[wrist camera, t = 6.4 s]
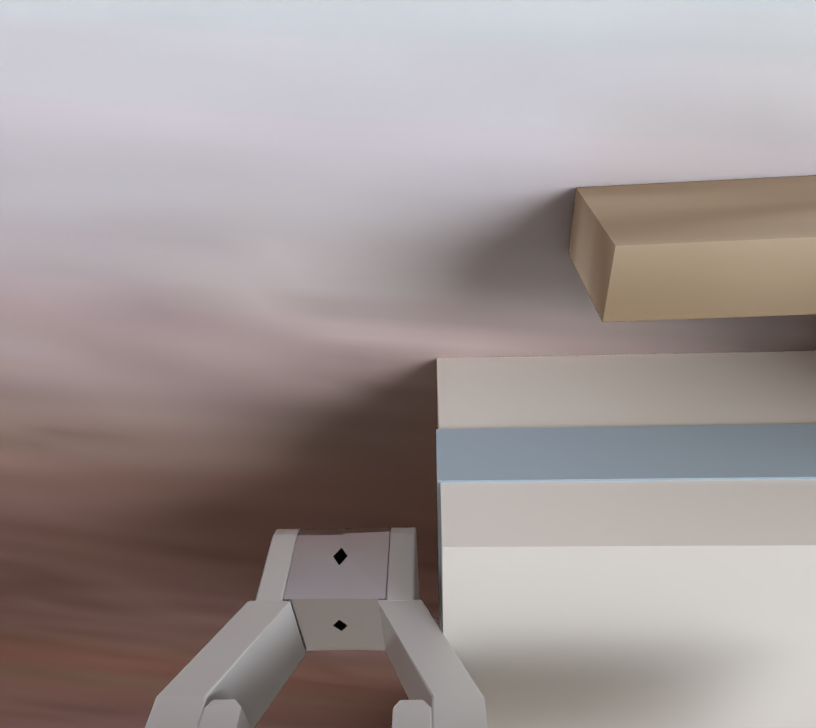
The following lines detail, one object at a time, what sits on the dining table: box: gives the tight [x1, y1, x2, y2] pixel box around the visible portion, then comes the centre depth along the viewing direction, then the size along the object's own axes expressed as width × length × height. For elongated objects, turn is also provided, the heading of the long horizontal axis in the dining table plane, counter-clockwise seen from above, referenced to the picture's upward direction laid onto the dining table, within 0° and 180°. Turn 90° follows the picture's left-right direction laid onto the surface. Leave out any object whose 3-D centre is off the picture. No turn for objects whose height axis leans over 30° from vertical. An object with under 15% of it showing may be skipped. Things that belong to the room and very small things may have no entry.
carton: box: [436, 351, 816, 728], centre depth 12 cm, size 8×8×5 cm
